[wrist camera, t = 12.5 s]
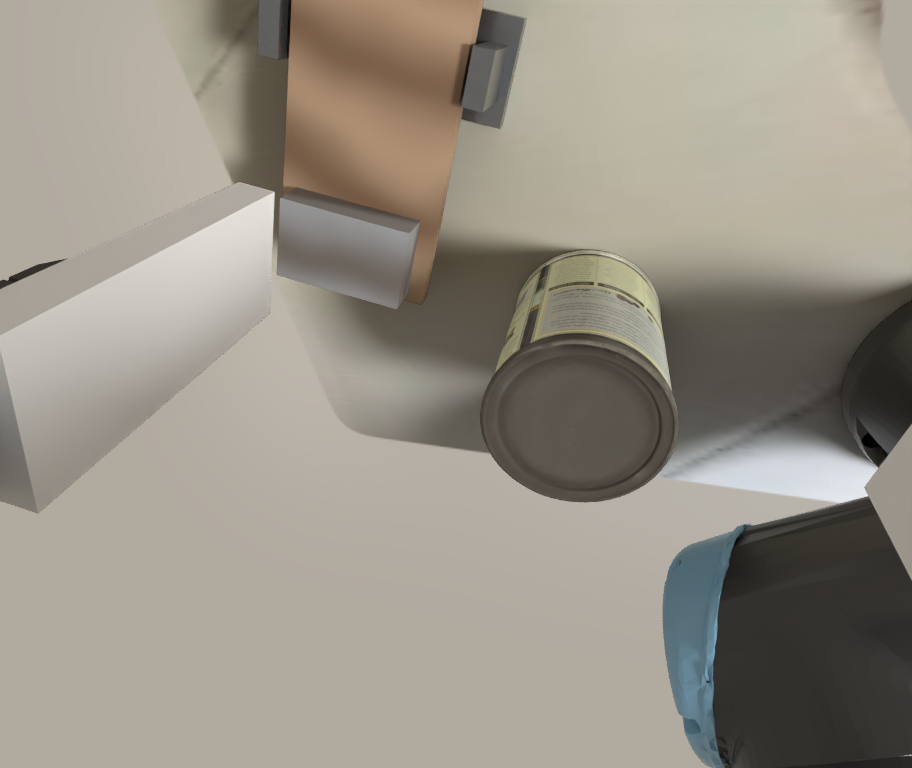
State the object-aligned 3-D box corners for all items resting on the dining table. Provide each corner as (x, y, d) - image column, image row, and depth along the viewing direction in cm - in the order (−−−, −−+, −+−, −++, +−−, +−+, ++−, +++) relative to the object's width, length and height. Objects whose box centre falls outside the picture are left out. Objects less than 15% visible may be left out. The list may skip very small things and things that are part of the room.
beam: (321, -322, 28) (280, -366, 25) (536, -278, 27) (525, -316, 24) (289, 256, 43) (261, 278, 40) (427, 295, 43) (410, 320, 39)
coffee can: (659, 380, 46) (673, 509, 34) (519, 379, 49) (488, 498, 37) (666, 244, 41) (685, 340, 29) (510, 250, 44) (470, 341, 32)
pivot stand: (299, -38, 37) (250, -44, 32) (526, 18, 36) (512, 20, 31) (294, 72, 41) (248, 81, 36) (502, 126, 40) (485, 143, 35)
